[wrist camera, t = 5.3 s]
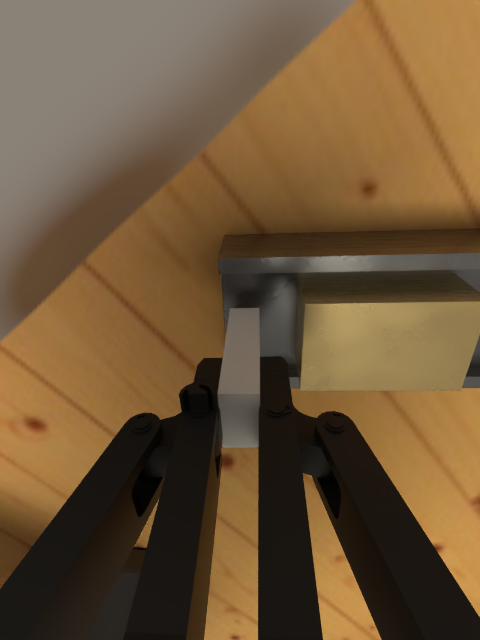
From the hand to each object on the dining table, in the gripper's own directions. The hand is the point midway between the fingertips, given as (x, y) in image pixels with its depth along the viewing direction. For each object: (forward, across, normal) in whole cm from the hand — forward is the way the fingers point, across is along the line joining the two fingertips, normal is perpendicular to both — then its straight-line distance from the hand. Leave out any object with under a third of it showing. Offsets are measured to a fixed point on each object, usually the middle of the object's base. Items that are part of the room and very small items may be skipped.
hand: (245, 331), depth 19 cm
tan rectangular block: (+1, +7, 0) cm, 7 cm away
